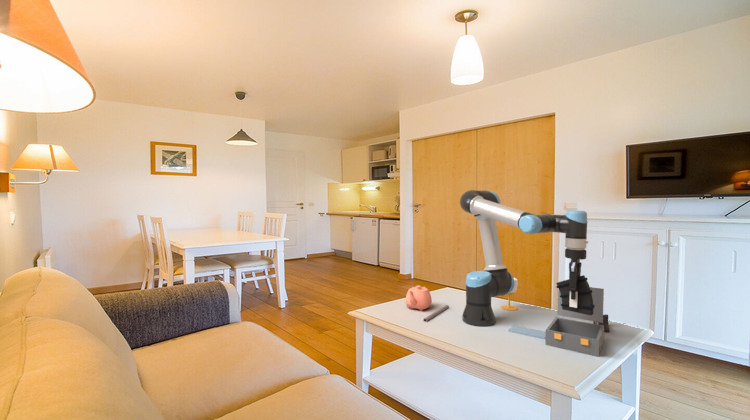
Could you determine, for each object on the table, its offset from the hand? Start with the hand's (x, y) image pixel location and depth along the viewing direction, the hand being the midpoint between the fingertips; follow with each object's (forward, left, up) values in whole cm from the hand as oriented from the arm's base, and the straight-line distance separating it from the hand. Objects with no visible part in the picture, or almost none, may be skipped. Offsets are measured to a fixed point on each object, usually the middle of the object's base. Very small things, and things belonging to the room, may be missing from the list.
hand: (574, 305), depth 140 cm
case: (0, +2, -15) cm, 15 cm away
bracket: (+7, +27, -15) cm, 32 cm away
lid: (0, +12, -1) cm, 12 cm away
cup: (-36, +32, -15) cm, 50 cm away
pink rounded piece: (-75, +1, -15) cm, 76 cm away
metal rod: (-62, -2, -16) cm, 63 cm away
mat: (-18, 0, -15) cm, 23 cm away
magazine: (0, 0, -2) cm, 2 cm away
